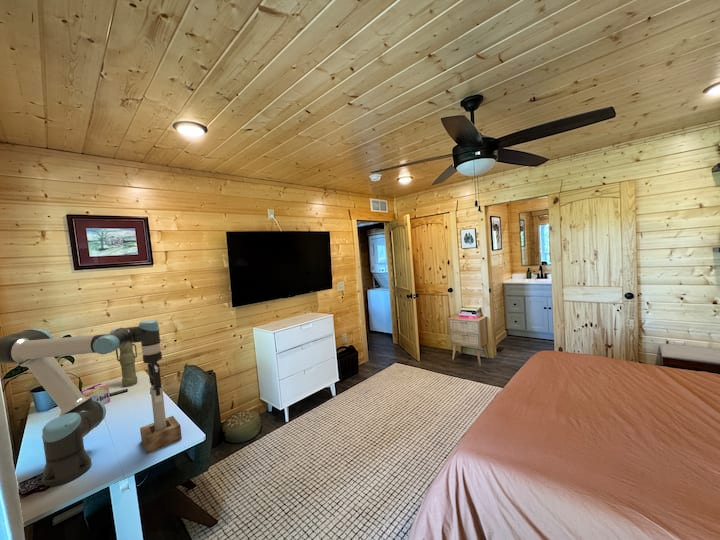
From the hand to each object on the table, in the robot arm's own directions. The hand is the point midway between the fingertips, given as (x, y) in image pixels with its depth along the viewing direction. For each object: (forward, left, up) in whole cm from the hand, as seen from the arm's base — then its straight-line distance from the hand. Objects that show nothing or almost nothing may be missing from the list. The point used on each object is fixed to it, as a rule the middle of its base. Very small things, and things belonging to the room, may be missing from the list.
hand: (157, 399), depth 147 cm
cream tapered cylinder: (0, 0, -18) cm, 18 cm away
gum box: (-22, +77, -21) cm, 83 cm away
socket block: (0, 0, -20) cm, 20 cm away
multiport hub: (-7, +92, -21) cm, 94 cm away
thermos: (+1, +103, -21) cm, 106 cm away
